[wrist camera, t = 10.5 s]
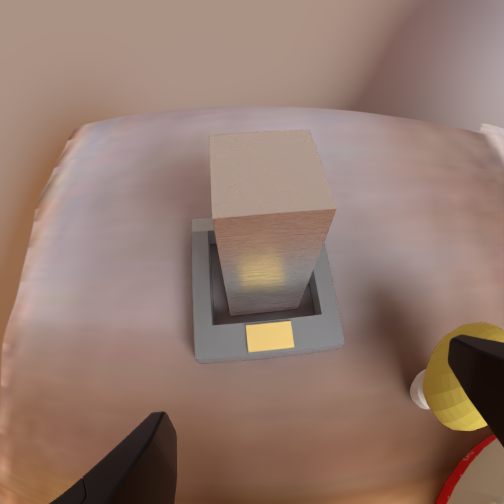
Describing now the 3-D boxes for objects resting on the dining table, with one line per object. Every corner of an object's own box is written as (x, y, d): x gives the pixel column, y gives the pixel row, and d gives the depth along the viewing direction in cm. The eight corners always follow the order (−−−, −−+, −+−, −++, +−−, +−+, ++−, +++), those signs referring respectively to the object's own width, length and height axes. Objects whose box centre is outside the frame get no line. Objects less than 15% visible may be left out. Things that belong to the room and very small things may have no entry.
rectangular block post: (297, 308, 24) (336, 208, 13) (230, 315, 23) (212, 218, 12) (287, 250, 26) (309, 130, 15) (225, 256, 26) (209, 135, 15)
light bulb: (367, 398, 20) (441, 382, 11) (416, 333, 22) (492, 282, 14) (424, 447, 18) (511, 450, 9) (466, 380, 20) (551, 350, 11)
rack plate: (337, 348, 22) (345, 342, 20) (199, 363, 21) (194, 358, 20) (311, 222, 27) (316, 207, 25) (195, 232, 27) (191, 217, 25)
